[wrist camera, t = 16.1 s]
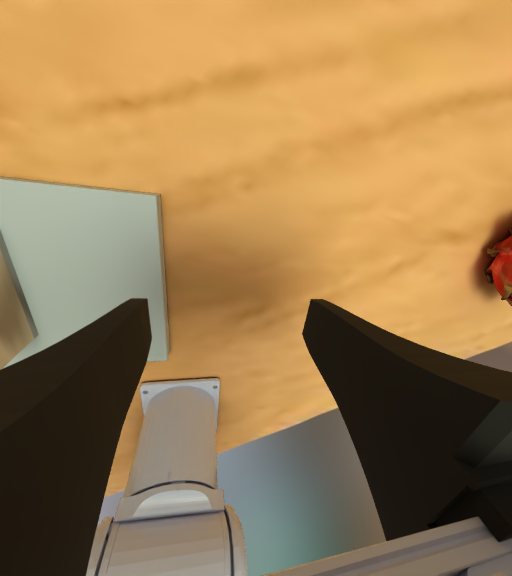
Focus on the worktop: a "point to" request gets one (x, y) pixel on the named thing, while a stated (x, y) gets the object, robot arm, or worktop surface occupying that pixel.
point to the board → (84, 256)
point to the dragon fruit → (501, 268)
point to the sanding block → (12, 311)
